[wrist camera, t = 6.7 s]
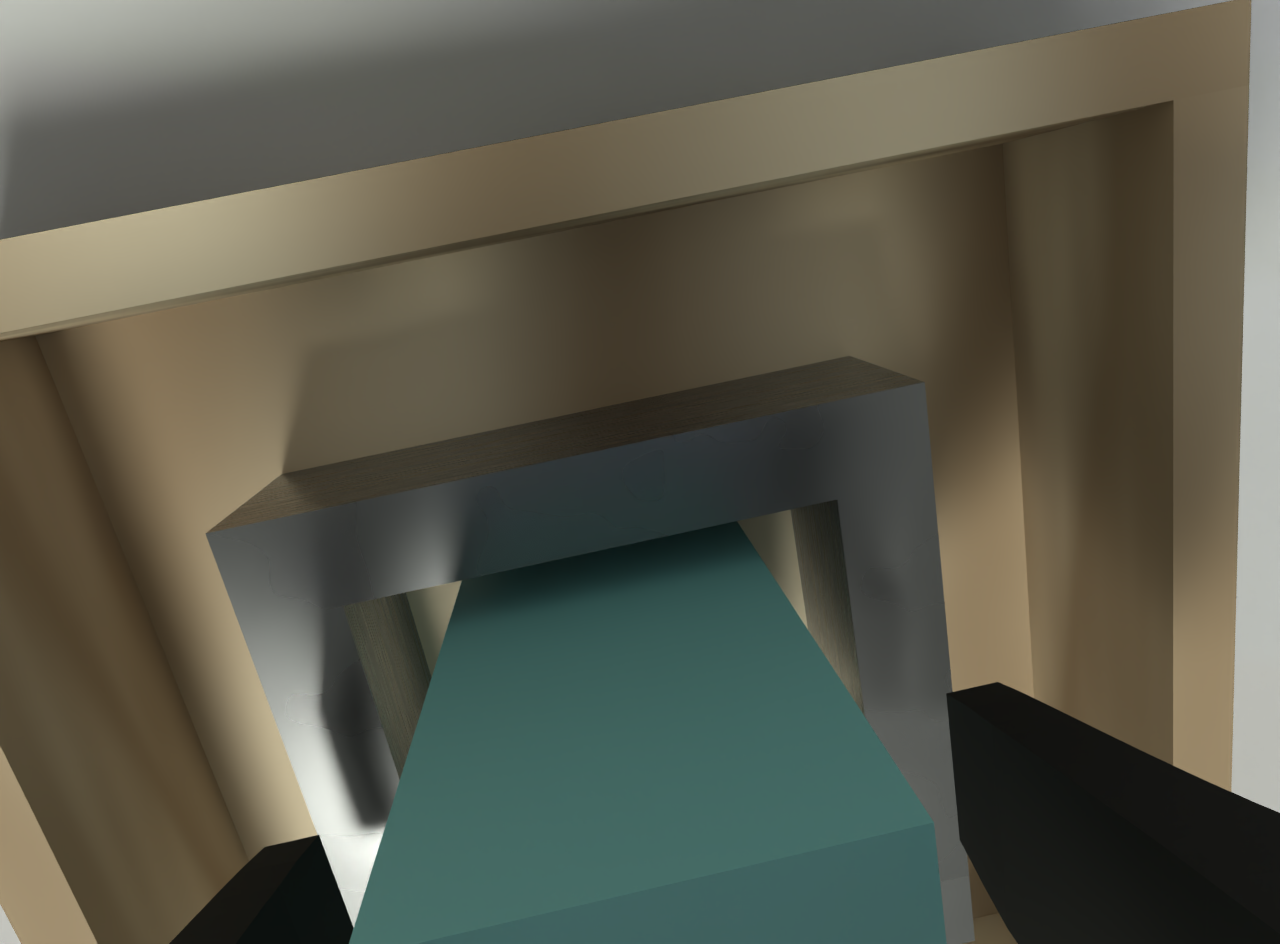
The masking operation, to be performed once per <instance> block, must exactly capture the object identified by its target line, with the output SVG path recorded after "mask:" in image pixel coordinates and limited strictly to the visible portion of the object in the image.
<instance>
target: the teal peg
mask: <svg viewBox="0 0 1280 944" xmlns="http://www.w3.org/2000/svg"><path fill="white" fill-rule="evenodd" d="M349 944H947V942H946V933H945V923H944V914H943V904H942V895H941V885H940V875H939V866H938V856H937V847H936V837H935V828H934V822H933V820H932V819H931V817H930V816H929V814H928V813H927V811H926V809H925V808H924V806H923V805H922V803H921V802H920V800H919V799H918V797H917V796H916V794H915V793H914V791H913V790H912V788H911V787H910V785H909V783H908V782H907V780H906V779H905V777H904V776H903V774H902V773H901V771H900V770H899V768H898V767H897V765H896V764H895V762H894V761H893V759H892V757H891V756H890V754H889V753H888V751H887V750H886V748H885V747H884V745H883V744H882V742H881V741H880V739H879V738H878V736H877V735H876V733H875V731H874V730H873V728H872V727H871V725H870V724H869V722H868V721H867V719H866V718H865V716H864V715H863V713H862V712H861V710H860V709H859V707H858V705H857V704H856V702H855V701H854V699H853V698H852V696H851V695H850V693H849V692H848V690H847V689H846V687H845V686H844V684H843V683H842V681H841V679H840V678H839V676H838V675H837V673H836V672H835V670H834V669H833V667H832V666H831V664H830V663H829V661H828V660H827V658H826V657H825V655H824V653H823V652H822V650H821V649H820V647H819V646H818V644H817V643H816V641H815V640H814V638H813V637H812V635H811V634H810V632H809V631H808V629H807V627H806V626H805V624H804V623H803V621H802V620H801V618H800V617H799V615H798V614H797V612H796V611H795V609H794V608H793V606H792V605H791V603H790V601H789V600H788V598H787V597H786V595H785V594H784V592H783V591H782V589H781V588H780V586H779V585H778V583H777V582H776V580H775V579H774V577H773V575H772V574H771V572H770V571H769V569H768V568H767V566H766V565H765V563H764V562H763V560H762V559H761V557H760V556H759V554H758V553H757V551H756V549H755V548H754V546H753V545H752V543H751V542H750V540H749V539H748V537H747V536H746V534H745V533H744V531H743V530H742V528H741V527H740V525H739V523H738V522H737V521H735V522H730V523H726V524H721V525H716V526H712V527H707V528H703V529H698V530H693V531H689V532H684V533H679V534H675V535H670V536H665V537H661V538H656V539H651V540H647V541H642V542H638V543H633V544H628V545H624V546H619V547H614V548H610V549H605V550H600V551H596V552H591V553H586V554H582V555H577V556H573V557H568V558H563V559H559V560H554V561H549V562H545V563H540V564H535V565H531V566H526V567H521V568H517V569H512V570H508V571H503V572H498V573H494V574H489V575H484V576H480V577H475V578H470V579H466V580H462V582H461V585H460V588H459V591H458V595H457V598H456V601H455V604H454V608H453V611H452V614H451V617H450V620H449V624H448V627H447V630H446V633H445V636H444V640H443V643H442V646H441V649H440V652H439V656H438V659H437V662H436V665H435V669H434V672H433V675H432V678H431V681H430V685H429V688H428V691H427V694H426V697H425V701H424V704H423V707H422V710H421V713H420V717H419V720H418V723H417V726H416V730H415V733H414V736H413V739H412V742H411V746H410V749H409V752H408V755H407V758H406V762H405V765H404V768H403V771H402V775H401V778H400V781H399V784H398V787H397V791H396V794H395V797H394V800H393V803H392V807H391V810H390V813H389V816H388V819H387V823H386V826H385V829H384V832H383V836H382V839H381V842H380V845H379V848H378V852H377V855H376V858H375V861H374V864H373V868H372V871H371V874H370V877H369V880H368V884H367V887H366V890H365V893H364V897H363V900H362V903H361V906H360V909H359V913H358V916H357V919H356V922H355V925H354V929H353V932H352V935H351V938H350V942H349Z"/></svg>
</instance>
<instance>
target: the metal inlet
mask: <svg viewBox="0 0 1280 944" xmlns="http://www.w3.org/2000/svg"><path fill="white" fill-rule="evenodd" d="M786 510H791V517H792V524H793V530H794V537H795V544H796V551H797V558H798V565H799V572H800V578H801V585H802V592H803V599H804V606H805V613H806V620H807V627H808V631H809V632H810V634H811V635H812V637H813V638H814V640H815V641H816V643H817V644H818V646H819V647H820V649H821V650H822V652H823V653H824V655H825V657H826V658H827V660H828V661H829V663H830V664H831V666H832V667H833V669H834V670H835V672H836V673H837V675H838V676H839V678H840V679H841V681H842V683H843V684H844V686H845V687H846V689H847V690H848V692H849V693H850V695H851V696H852V698H853V699H854V701H855V702H856V704H857V705H858V707H859V709H860V710H861V712H862V713H863V715H864V716H865V718H866V719H867V721H868V722H869V724H870V725H871V727H872V728H873V730H874V731H875V733H876V735H877V736H878V738H879V739H880V741H881V742H882V744H883V745H884V747H885V748H886V750H887V751H888V753H889V754H890V756H891V757H892V759H893V761H894V762H895V764H896V765H897V767H898V768H899V770H900V771H901V773H902V774H903V776H904V777H905V779H906V780H907V782H908V783H909V785H910V787H911V788H912V790H913V791H914V793H915V794H916V796H917V797H918V799H919V800H920V802H921V803H922V805H923V806H924V808H925V809H926V811H927V813H928V814H929V816H930V817H931V819H932V820H933V822H934V828H935V837H936V847H937V856H938V866H939V875H940V885H941V895H942V904H943V914H944V923H945V933H946V942H947V944H963V943H968V942H972V941H975V935H974V924H973V913H972V902H971V891H970V880H969V869H968V858H967V853H966V851H965V849H964V847H963V845H962V843H961V841H960V838H959V827H958V816H957V805H956V794H955V784H954V773H953V762H952V751H951V740H950V729H949V718H948V708H947V697H946V693H950V692H953V691H952V680H951V669H950V658H949V646H948V635H947V624H946V613H945V602H944V591H943V580H942V569H941V558H940V546H939V535H938V524H937V513H936V502H935V491H934V480H933V469H932V457H931V446H930V435H929V424H928V413H927V402H926V391H925V382H923V381H920V380H917V379H914V378H912V377H909V376H906V375H903V374H900V373H897V372H894V371H892V370H889V369H886V368H883V367H880V366H877V365H874V364H872V363H869V362H866V361H863V360H860V359H857V358H855V357H852V356H846V357H841V358H837V359H832V360H827V361H822V362H817V363H813V364H808V365H803V366H798V367H793V368H789V369H784V370H779V371H774V372H769V373H765V374H760V375H755V376H750V377H745V378H741V379H736V380H731V381H726V382H721V383H717V384H712V385H707V386H702V387H697V388H693V389H688V390H683V391H678V392H673V393H669V394H664V395H659V396H654V397H649V398H645V399H640V400H635V401H630V402H625V403H620V404H616V405H611V406H606V407H601V408H596V409H592V410H587V411H582V412H577V413H572V414H568V415H563V416H558V417H553V418H548V419H544V420H539V421H534V422H529V423H524V424H520V425H515V426H510V427H505V428H500V429H496V430H491V431H486V432H481V433H476V434H472V435H467V436H462V437H457V438H452V439H448V440H443V441H438V442H433V443H428V444H424V445H419V446H414V447H409V448H404V449H400V450H395V451H390V452H385V453H380V454H376V455H371V456H366V457H361V458H356V459H352V460H347V461H342V462H337V463H332V464H328V465H323V466H318V467H313V468H308V469H304V470H299V471H294V472H289V473H284V474H281V475H280V476H279V477H277V478H276V479H275V480H273V481H272V482H271V483H270V484H268V485H267V486H266V487H264V488H263V489H262V490H261V491H259V492H258V493H257V494H255V495H254V496H253V497H252V498H250V499H249V500H248V501H246V502H245V503H244V504H243V505H241V506H240V507H239V508H237V509H236V510H235V511H234V512H232V513H231V514H230V515H228V516H227V517H226V518H225V519H223V520H222V521H221V522H219V523H218V524H217V525H216V526H214V527H213V528H212V529H210V530H209V531H208V532H207V533H205V534H206V537H207V539H208V542H209V545H210V548H211V550H212V553H213V556H214V558H215V561H216V564H217V566H218V569H219V572H220V574H221V577H222V580H223V582H224V585H225V588H226V590H227V593H228V596H229V599H230V601H231V604H232V607H233V609H234V612H235V615H236V617H237V620H238V623H239V625H240V628H241V631H242V633H243V636H244V639H245V641H246V644H247V647H248V650H249V652H250V655H251V658H252V660H253V663H254V666H255V668H256V671H257V674H258V676H259V679H260V682H261V684H262V687H263V690H264V692H265V695H266V698H267V701H268V703H269V706H270V709H271V711H272V714H273V717H274V719H275V722H276V725H277V727H278V730H279V733H280V735H281V738H282V741H283V743H284V746H285V749H286V752H287V754H288V757H289V760H290V762H291V765H292V768H293V770H294V773H295V776H296V778H297V781H298V784H299V786H300V789H301V792H302V794H303V797H304V800H305V803H306V805H307V808H308V811H309V813H310V816H311V819H312V821H313V824H314V827H315V829H316V832H317V835H319V836H320V839H321V841H322V844H323V847H324V850H325V852H326V855H327V858H328V860H329V863H330V866H331V868H332V871H333V874H334V876H335V879H336V882H337V884H338V887H339V890H340V892H341V895H342V898H343V900H344V903H345V906H346V909H347V911H348V914H349V917H350V919H351V922H352V925H353V927H354V925H355V922H356V919H357V916H358V913H359V909H360V906H361V903H362V900H363V897H364V893H365V890H366V887H367V884H368V880H369V877H370V874H371V871H372V868H373V864H374V861H375V858H376V855H377V852H378V848H379V845H380V842H381V839H382V836H383V832H384V829H385V826H386V823H387V819H388V816H389V813H390V810H391V807H392V803H393V800H394V797H395V794H396V791H397V787H398V784H399V781H400V778H401V775H402V771H403V768H404V765H405V762H406V758H407V755H408V752H409V749H410V746H411V742H412V739H413V736H414V733H415V730H416V726H417V723H418V720H419V717H420V713H421V710H422V707H423V704H424V701H425V697H426V694H427V691H428V688H429V685H430V681H431V678H432V677H431V674H430V671H429V667H428V664H427V661H426V658H425V654H424V651H423V648H422V644H421V641H420V638H419V634H418V631H417V628H416V624H415V621H414V618H413V614H412V611H411V608H410V605H409V601H408V598H407V595H406V592H410V591H415V590H419V589H424V588H429V587H433V586H438V585H443V584H447V583H452V582H456V581H461V580H466V579H470V578H475V577H480V576H484V575H489V574H494V573H498V572H503V571H508V570H512V569H517V568H521V567H526V566H531V565H535V564H540V563H545V562H549V561H554V560H559V559H563V558H568V557H573V556H577V555H582V554H586V553H591V552H596V551H600V550H605V549H610V548H614V547H619V546H624V545H628V544H633V543H638V542H642V541H647V540H651V539H656V538H661V537H665V536H670V535H675V534H679V533H684V532H689V531H693V530H698V529H703V528H707V527H712V526H716V525H721V524H726V523H730V522H735V521H740V520H744V519H749V518H754V517H758V516H763V515H768V514H772V513H777V512H781V511H786Z"/></svg>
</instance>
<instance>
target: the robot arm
mask: <svg viewBox="0 0 1280 944" xmlns="http://www.w3.org/2000/svg"><path fill="white" fill-rule="evenodd" d="M946 697H947V708H948V718H949V729H950V740H951V751H952V762H953V773H954V784H955V794H956V805H957V816H958V827H959V838H960V841H961V843H962V845H963V847H964V849H965V851H966V853H967V855H968V857H969V858H970V860H971V862H972V864H973V866H974V868H975V870H976V872H977V874H978V876H979V878H980V879H981V881H982V883H983V885H984V887H985V889H986V891H987V893H988V894H989V896H990V898H991V900H992V902H993V903H994V905H995V907H996V909H997V911H998V912H999V914H1000V916H1001V918H1002V920H1003V921H1004V923H1005V925H1006V927H1007V928H1008V930H1009V931H1010V933H1011V934H1012V936H1013V937H1014V939H1015V940H1016V942H1017V943H1018V944H1280V813H1278V812H1276V811H1274V810H1271V809H1269V808H1267V807H1264V806H1262V805H1259V804H1257V803H1255V802H1252V801H1250V800H1248V799H1246V798H1243V797H1241V796H1239V795H1237V794H1234V793H1232V792H1230V791H1228V790H1225V789H1223V788H1221V787H1219V786H1216V785H1214V784H1212V783H1210V782H1208V781H1205V780H1203V779H1201V778H1199V777H1197V776H1195V775H1192V774H1190V773H1188V772H1186V771H1184V770H1181V769H1179V768H1177V767H1175V766H1173V765H1171V764H1169V763H1167V762H1165V761H1162V760H1160V759H1158V758H1156V757H1154V756H1152V755H1150V754H1148V753H1146V752H1143V751H1141V750H1139V749H1137V748H1135V747H1133V746H1131V745H1129V744H1127V743H1125V742H1123V741H1121V740H1119V739H1116V738H1114V737H1112V736H1110V735H1108V734H1106V733H1104V732H1102V731H1100V730H1098V729H1096V728H1094V727H1092V726H1090V725H1088V724H1086V723H1084V722H1082V721H1080V720H1078V719H1076V718H1074V717H1072V716H1070V715H1068V714H1066V713H1063V712H1061V711H1059V710H1057V709H1055V708H1053V707H1051V706H1049V705H1047V704H1045V703H1043V702H1041V701H1039V700H1037V699H1035V698H1033V697H1030V696H1028V695H1026V694H1024V693H1022V692H1020V691H1018V690H1015V689H1013V688H1011V687H1009V686H1006V685H1004V684H1002V683H999V682H995V683H990V684H986V685H982V686H977V687H973V688H968V689H964V690H959V691H955V692H950V693H946ZM353 929H354V927H353V925H352V922H351V919H350V917H349V914H348V911H347V909H346V906H345V903H344V900H343V898H342V895H341V892H340V890H339V887H338V884H337V882H336V879H335V876H334V874H333V871H332V868H331V866H330V863H329V860H328V858H327V855H326V852H325V850H324V847H323V844H322V841H321V839H320V836H319V835H316V836H311V837H307V838H302V839H298V840H293V841H289V842H285V843H280V844H276V845H271V846H267V847H264V848H263V849H262V850H261V851H260V852H259V853H258V854H256V855H255V856H254V857H253V858H252V859H251V860H250V861H249V862H248V863H247V864H246V865H245V866H244V867H243V868H242V869H241V870H240V871H239V872H238V873H237V874H236V875H235V876H234V877H233V878H232V879H231V880H230V881H229V882H228V883H227V884H226V885H225V886H224V887H223V888H222V889H221V890H220V891H219V892H218V893H217V894H216V895H215V896H214V897H213V898H212V899H211V900H210V901H209V902H208V903H207V904H206V906H205V907H204V908H203V909H202V910H201V911H200V912H199V913H198V914H197V915H196V916H195V917H194V918H193V919H192V920H191V921H190V922H189V923H188V924H187V925H186V926H185V927H184V929H183V930H182V931H181V932H180V933H179V934H178V935H177V936H176V937H175V938H174V939H173V940H172V941H171V942H170V943H169V944H349V942H350V938H351V935H352V932H353Z"/></svg>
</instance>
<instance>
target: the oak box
mask: <svg viewBox="0 0 1280 944" xmlns="http://www.w3.org/2000/svg"><path fill="white" fill-rule="evenodd" d="M1250 29H1251V0H1233V1H1228V2H1223V3H1218V4H1213V5H1208V6H1202V7H1197V8H1192V9H1187V10H1182V11H1177V12H1171V13H1166V14H1161V15H1156V16H1151V17H1146V18H1141V19H1135V20H1130V21H1125V22H1120V23H1115V24H1110V25H1104V26H1099V27H1094V28H1089V29H1084V30H1079V31H1074V32H1068V33H1063V34H1058V35H1053V36H1048V37H1043V38H1037V39H1032V40H1027V41H1022V42H1017V43H1012V44H1007V45H1001V46H996V47H991V48H986V49H981V50H976V51H970V52H965V53H960V54H955V55H950V56H945V57H940V58H934V59H929V60H924V61H919V62H914V63H909V64H903V65H898V66H893V67H888V68H883V69H878V70H872V71H867V72H862V73H857V74H852V75H847V76H842V77H836V78H831V79H826V80H821V81H816V82H811V83H805V84H800V85H795V86H790V87H785V88H780V89H775V90H769V91H764V92H759V93H754V94H749V95H744V96H738V97H733V98H728V99H723V100H718V101H713V102H708V103H702V104H697V105H692V106H687V107H682V108H677V109H671V110H666V111H661V112H656V113H651V114H646V115H641V116H635V117H630V118H625V119H620V120H615V121H610V122H604V123H599V124H594V125H589V126H584V127H579V128H574V129H568V130H563V131H558V132H553V133H548V134H543V135H537V136H532V137H527V138H522V139H517V140H512V141H507V142H501V143H496V144H491V145H486V146H481V147H476V148H470V149H465V150H460V151H455V152H450V153H445V154H439V155H434V156H429V157H424V158H419V159H414V160H409V161H403V162H398V163H393V164H388V165H383V166H378V167H372V168H367V169H362V170H357V171H352V172H347V173H342V174H336V175H331V176H326V177H321V178H316V179H311V180H305V181H300V182H295V183H290V184H285V185H280V186H275V187H269V188H264V189H259V190H254V191H249V192H244V193H238V194H233V195H228V196H223V197H218V198H213V199H208V200H202V201H197V202H192V203H187V204H182V205H177V206H171V207H166V208H161V209H156V210H151V211H146V212H141V213H135V214H130V215H125V216H120V217H115V218H110V219H104V220H99V221H94V222H89V223H84V224H79V225H73V226H68V227H63V228H58V229H53V230H48V231H43V232H37V233H32V234H27V235H22V236H17V237H12V238H6V239H1V240H0V904H1V906H2V908H3V910H4V912H5V914H6V915H7V917H8V919H9V921H10V923H11V925H12V927H13V929H14V931H15V933H16V934H17V936H18V938H19V940H20V942H21V944H169V943H170V942H171V941H172V940H173V939H174V938H175V937H176V936H177V935H178V934H179V933H180V932H181V931H182V930H183V929H184V927H185V926H186V925H187V924H188V923H189V922H190V921H191V920H192V919H193V918H194V917H195V916H196V915H197V914H198V913H199V912H200V911H201V910H202V909H203V908H204V907H205V906H206V904H207V903H208V902H209V901H210V900H211V899H212V898H213V897H214V896H215V895H216V894H217V893H218V892H219V891H220V890H221V889H222V888H223V887H224V886H225V885H226V884H227V883H228V882H229V881H230V880H231V879H232V878H233V877H234V876H235V875H236V874H237V873H238V872H239V871H240V870H241V869H242V868H243V867H244V866H245V865H246V864H247V863H248V862H249V861H250V860H251V859H252V858H253V857H254V856H255V855H256V854H258V853H259V852H260V851H261V850H262V849H263V848H264V847H267V846H271V845H276V844H280V843H285V842H289V841H293V840H298V839H302V838H307V837H311V836H316V835H317V832H316V829H315V827H314V824H313V821H312V819H311V816H310V813H309V811H308V808H307V805H306V803H305V800H304V797H303V794H302V792H301V789H300V786H299V784H298V781H297V778H296V776H295V773H294V770H293V768H292V765H291V762H290V760H289V757H288V754H287V752H286V749H285V746H284V743H283V741H282V738H281V735H280V733H279V730H278V727H277V725H276V722H275V719H274V717H273V714H272V711H271V709H270V706H269V703H268V701H267V698H266V695H265V692H264V690H263V687H262V684H261V682H260V679H259V676H258V674H257V671H256V668H255V666H254V663H253V660H252V658H251V655H250V652H249V650H248V647H247V644H246V641H245V639H244V636H243V633H242V631H241V628H240V625H239V623H238V620H237V617H236V615H235V612H234V609H233V607H232V604H231V601H230V599H229V596H228V593H227V590H226V588H225V585H224V582H223V580H222V577H221V574H220V572H219V569H218V566H217V564H216V561H215V558H214V556H213V553H212V550H211V548H210V545H209V542H208V539H207V537H206V534H205V533H207V532H208V531H209V530H210V529H212V528H213V527H214V526H216V525H217V524H218V523H219V522H221V521H222V520H223V519H225V518H226V517H227V516H228V515H230V514H231V513H232V512H234V511H235V510H236V509H237V508H239V507H240V506H241V505H243V504H244V503H245V502H246V501H248V500H249V499H250V498H252V497H253V496H254V495H255V494H257V493H258V492H259V491H261V490H262V489H263V488H264V487H266V486H267V485H268V484H270V483H271V482H272V481H273V480H275V479H276V478H277V477H279V476H280V475H281V474H284V473H289V472H294V471H299V470H304V469H308V468H313V467H318V466H323V465H328V464H332V463H337V462H342V461H347V460H352V459H356V458H361V457H366V456H371V455H376V454H380V453H385V452H390V451H395V450H400V449H404V448H409V447H414V446H419V445H424V444H428V443H433V442H438V441H443V440H448V439H452V438H457V437H462V436H467V435H472V434H476V433H481V432H486V431H491V430H496V429H500V428H505V427H510V426H515V425H520V424H524V423H529V422H534V421H539V420H544V419H548V418H553V417H558V416H563V415H568V414H572V413H577V412H582V411H587V410H592V409H596V408H601V407H606V406H611V405H616V404H620V403H625V402H630V401H635V400H640V399H645V398H649V397H654V396H659V395H664V394H669V393H673V392H678V391H683V390H688V389H693V388H697V387H702V386H707V385H712V384H717V383H721V382H726V381H731V380H736V379H741V378H745V377H750V376H755V375H760V374H765V373H769V372H774V371H779V370H784V369H789V368H793V367H798V366H803V365H808V364H813V363H817V362H822V361H827V360H832V359H837V358H841V357H846V356H852V357H855V358H857V359H860V360H863V361H866V362H869V363H872V364H874V365H877V366H880V367H883V368H886V369H889V370H892V371H894V372H897V373H900V374H903V375H906V376H909V377H912V378H914V379H917V380H920V381H923V382H925V391H926V402H927V413H928V424H929V435H930V446H931V457H932V469H933V480H934V491H935V502H936V513H937V524H938V535H939V546H940V558H941V569H942V580H943V591H944V602H945V613H946V624H947V635H948V646H949V658H950V669H951V680H952V691H953V692H955V691H959V690H964V689H968V688H973V687H977V686H982V685H986V684H990V683H995V682H999V683H1002V684H1004V685H1006V686H1009V687H1011V688H1013V689H1015V690H1018V691H1020V692H1022V693H1024V694H1026V695H1028V696H1030V697H1033V698H1035V699H1037V700H1039V701H1041V702H1043V703H1045V704H1047V705H1049V706H1051V707H1053V708H1055V709H1057V710H1059V711H1061V712H1063V713H1066V714H1068V715H1070V716H1072V717H1074V718H1076V719H1078V720H1080V721H1082V722H1084V723H1086V724H1088V725H1090V726H1092V727H1094V728H1096V729H1098V730H1100V731H1102V732H1104V733H1106V734H1108V735H1110V736H1112V737H1114V738H1116V739H1119V740H1121V741H1123V742H1125V743H1127V744H1129V745H1131V746H1133V747H1135V748H1137V749H1139V750H1141V751H1143V752H1146V753H1148V754H1150V755H1152V756H1154V757H1156V758H1158V759H1160V760H1162V761H1165V762H1167V763H1169V764H1171V765H1173V766H1175V767H1177V768H1179V769H1181V770H1184V771H1186V772H1188V773H1190V774H1192V775H1195V776H1197V777H1199V778H1201V779H1203V780H1205V781H1208V782H1210V783H1212V784H1214V785H1216V786H1219V787H1221V788H1223V789H1225V790H1228V791H1230V792H1231V777H1232V738H1233V698H1234V659H1235V619H1236V580H1237V541H1238V501H1239V462H1240V423H1241V383H1242V344H1243V305H1244V265H1245V226H1246V187H1247V147H1248V108H1249V68H1250ZM737 522H738V523H739V525H740V527H741V528H742V530H743V531H744V533H745V534H746V536H747V537H748V539H749V540H750V542H751V543H752V545H753V546H754V548H755V549H756V551H757V553H758V554H759V556H760V557H761V559H762V560H763V562H764V563H765V565H766V566H767V568H768V569H769V571H770V572H771V574H772V575H773V577H774V579H775V580H776V582H777V583H778V585H779V586H780V588H781V589H782V591H783V592H784V594H785V595H786V597H787V598H788V600H789V601H790V603H791V605H792V606H793V608H794V609H795V611H796V612H797V614H798V615H799V617H800V618H801V620H802V621H803V623H804V624H805V626H806V627H807V620H806V613H805V606H804V599H803V592H802V585H801V578H800V572H799V565H798V558H797V551H796V544H795V537H794V530H793V524H792V517H791V510H786V511H781V512H777V513H772V514H768V515H763V516H758V517H754V518H749V519H744V520H740V521H737ZM461 582H462V580H461V581H456V582H452V583H447V584H443V585H438V586H433V587H429V588H424V589H419V590H415V591H410V592H406V595H407V598H408V601H409V605H410V608H411V611H412V614H413V618H414V621H415V624H416V628H417V631H418V634H419V638H420V641H421V644H422V648H423V651H424V654H425V658H426V661H427V664H428V667H429V671H430V674H431V677H432V675H433V672H434V669H435V665H436V662H437V659H438V656H439V652H440V649H441V646H442V643H443V640H444V636H445V633H446V630H447V627H448V624H449V620H450V617H451V614H452V611H453V608H454V604H455V601H456V598H457V595H458V591H459V588H460V585H461ZM807 629H808V627H807ZM967 858H968V869H969V880H970V891H971V902H972V913H973V924H974V935H975V941H972V942H968V943H963V944H1018V943H1017V942H1016V940H1015V939H1014V937H1013V936H1012V934H1011V933H1010V931H1009V930H1008V928H1007V927H1006V925H1005V923H1004V921H1003V920H1002V918H1001V916H1000V914H999V912H998V911H997V909H996V907H995V905H994V903H993V902H992V900H991V898H990V896H989V894H988V893H987V891H986V889H985V887H984V885H983V883H982V881H981V879H980V878H979V876H978V874H977V872H976V870H975V868H974V866H973V864H972V862H971V860H970V858H969V857H968V855H967Z"/></svg>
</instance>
